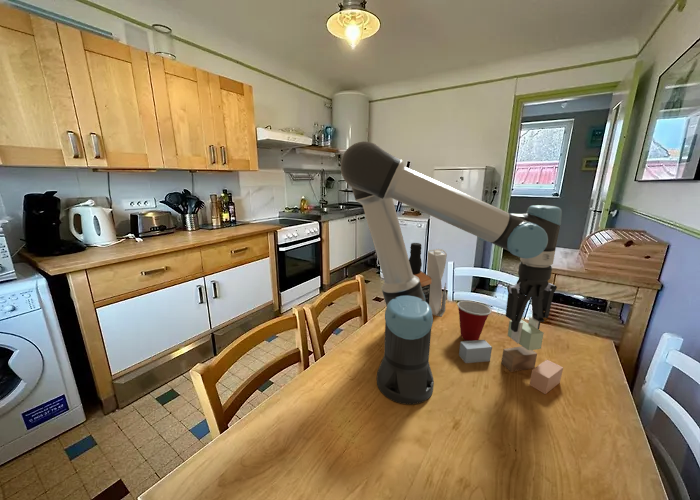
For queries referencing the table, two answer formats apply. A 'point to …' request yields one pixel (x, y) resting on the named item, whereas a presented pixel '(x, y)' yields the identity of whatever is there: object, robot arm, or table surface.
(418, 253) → the whiskey bottle
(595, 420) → the table surface
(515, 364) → the walnut block
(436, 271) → the skyscraper
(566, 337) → the table surface
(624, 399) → the table surface
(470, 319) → the plastic cup
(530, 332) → the sage block
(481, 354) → the slate block
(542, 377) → the terracotta block
